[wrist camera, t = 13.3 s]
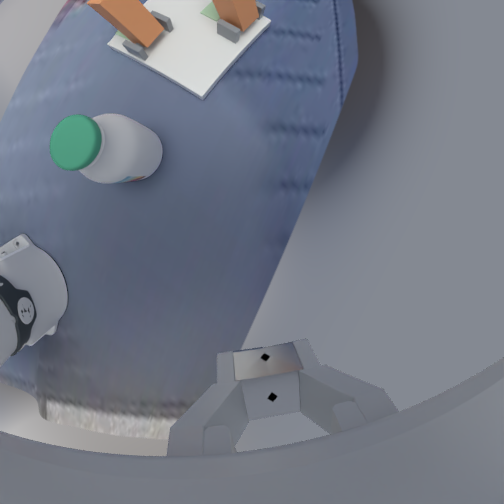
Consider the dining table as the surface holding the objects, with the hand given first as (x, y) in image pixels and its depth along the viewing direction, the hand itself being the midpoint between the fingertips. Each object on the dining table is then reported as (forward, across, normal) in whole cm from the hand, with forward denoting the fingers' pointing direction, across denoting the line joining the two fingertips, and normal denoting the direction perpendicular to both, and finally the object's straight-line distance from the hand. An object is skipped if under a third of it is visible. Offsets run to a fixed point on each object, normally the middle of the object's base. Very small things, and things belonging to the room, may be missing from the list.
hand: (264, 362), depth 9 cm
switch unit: (+33, +3, -29) cm, 44 cm away
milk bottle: (+33, +12, -11) cm, 37 cm away
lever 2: (+30, -5, -28) cm, 41 cm away
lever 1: (+30, +8, -28) cm, 41 cm away
